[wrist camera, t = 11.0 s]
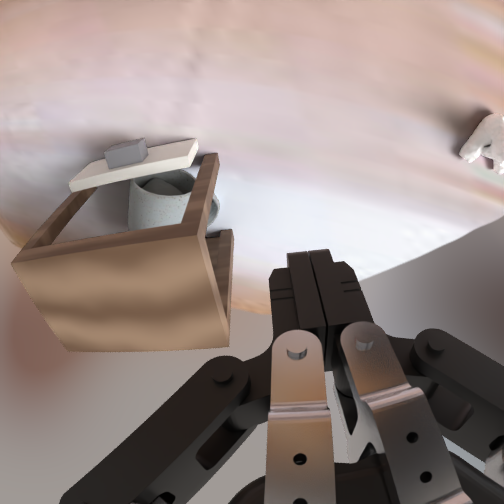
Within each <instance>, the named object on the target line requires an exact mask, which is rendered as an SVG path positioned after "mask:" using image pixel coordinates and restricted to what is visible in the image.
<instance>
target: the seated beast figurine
mask: <svg viewBox="0 0 504 504" xmlns="http://www.w3.org/2000/svg"><path fill="white" fill-rule="evenodd" d="M486 145H489V146H488V147H486ZM480 154H481V155H482V156H483V157H484V156H486V157H487V158H489V159H493V161H494V162H493V163H494V164H493V166H494V172H496V173H497V174H502V173H503V174H504V115H501V114H499V113H495V114H491V115H488V116H486V117H485V118H484V119H483V120H482V122H480V123H479V126H477V128H476V129H475V130H474V132H473V134H472V135H471V136H470V137H469V139H468V140H467V142H466V143H465V144H464V145H463V147H462V148H461V150H460V152H459V155H460V156H461V157H462V158H463V159H465V160H466V161H467V162H468V163H471V162H473V161H474V160H476V158H477V157H478V156H480Z"/></svg>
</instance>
